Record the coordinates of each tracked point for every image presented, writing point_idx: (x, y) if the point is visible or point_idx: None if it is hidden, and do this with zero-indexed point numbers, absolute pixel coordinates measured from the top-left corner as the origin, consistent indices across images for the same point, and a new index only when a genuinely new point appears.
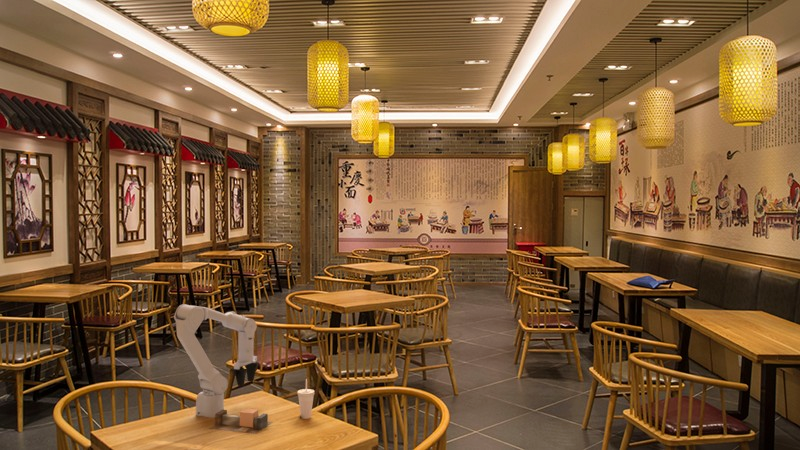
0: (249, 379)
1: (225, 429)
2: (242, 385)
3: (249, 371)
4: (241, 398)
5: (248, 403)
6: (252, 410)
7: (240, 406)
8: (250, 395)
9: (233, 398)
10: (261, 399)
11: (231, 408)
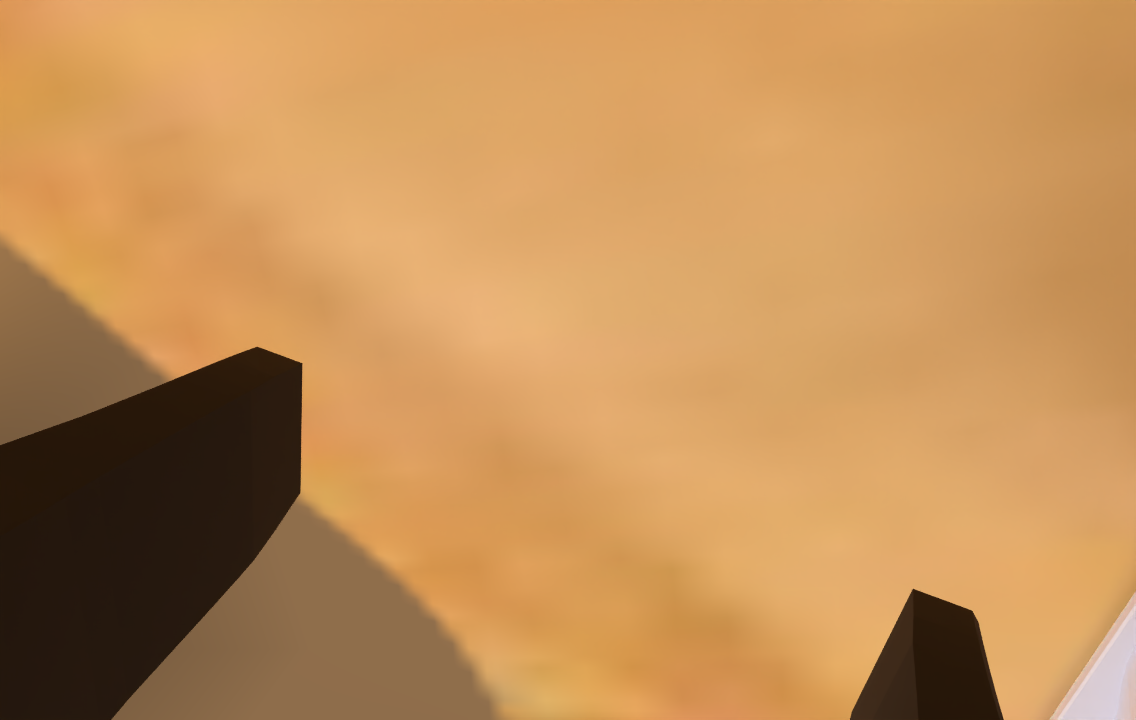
0: (273, 484)
1: None
2: (975, 648)
3: (67, 683)
4: None
5: (483, 203)
6: None
7: (675, 316)
8: (89, 249)
9: None
10: (210, 3)
11: (803, 449)
